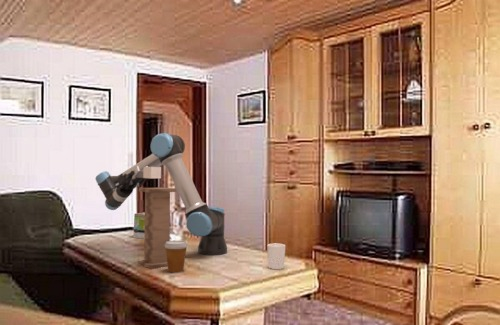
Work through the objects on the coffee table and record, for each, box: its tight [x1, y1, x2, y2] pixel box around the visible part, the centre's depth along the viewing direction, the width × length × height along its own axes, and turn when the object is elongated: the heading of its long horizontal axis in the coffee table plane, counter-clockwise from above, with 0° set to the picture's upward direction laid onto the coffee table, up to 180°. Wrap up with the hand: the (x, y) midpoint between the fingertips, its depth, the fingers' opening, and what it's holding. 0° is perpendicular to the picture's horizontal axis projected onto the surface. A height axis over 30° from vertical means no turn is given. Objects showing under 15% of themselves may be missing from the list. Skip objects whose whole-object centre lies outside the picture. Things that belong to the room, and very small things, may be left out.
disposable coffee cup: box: [165, 240, 188, 273], centre depth 192 cm, size 10×10×12 cm
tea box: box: [133, 211, 145, 240], centre depth 280 cm, size 15×10×15 cm, turn 159°
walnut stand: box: [137, 186, 177, 270], centre depth 203 cm, size 12×12×34 cm
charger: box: [135, 166, 162, 179], centre depth 211 cm, size 20×5×5 cm, turn 41°
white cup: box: [267, 242, 286, 270], centre depth 200 cm, size 8×8×10 cm
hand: (142, 168), depth 213 cm, fingers closed on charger, 4 cm apart
